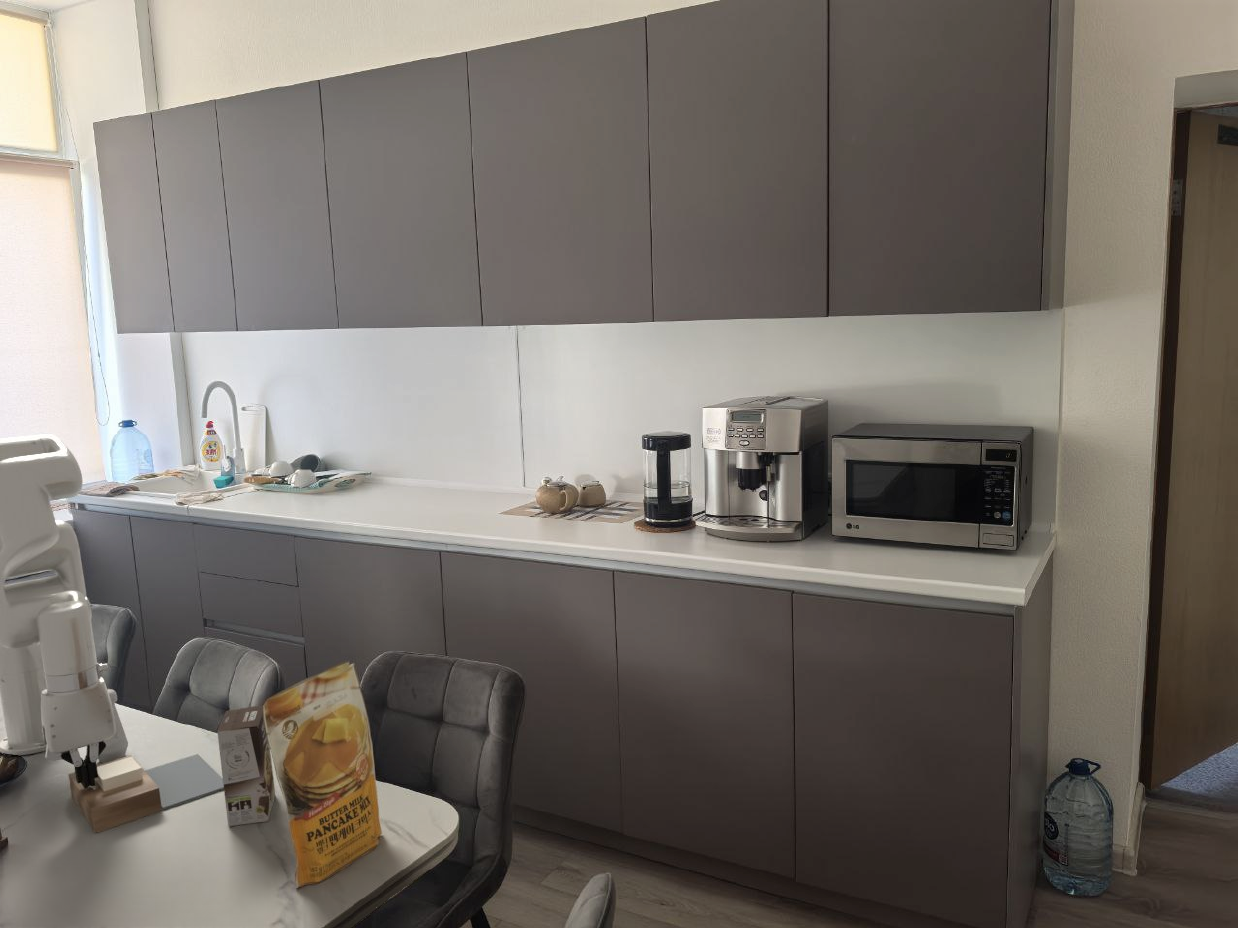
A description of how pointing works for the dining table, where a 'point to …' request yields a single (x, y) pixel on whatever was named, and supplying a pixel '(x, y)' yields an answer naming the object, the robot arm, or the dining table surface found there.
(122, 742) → the salt shaker
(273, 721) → the pancake mix bag
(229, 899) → the dining table surface
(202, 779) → the mat
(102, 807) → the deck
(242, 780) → the coffee box
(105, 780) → the cream square block
